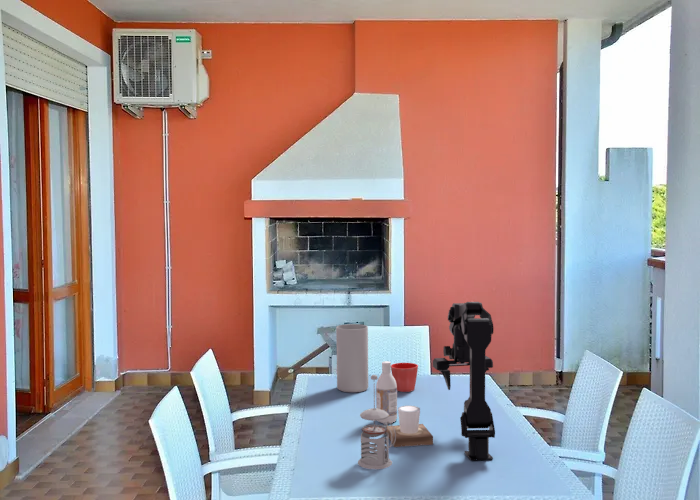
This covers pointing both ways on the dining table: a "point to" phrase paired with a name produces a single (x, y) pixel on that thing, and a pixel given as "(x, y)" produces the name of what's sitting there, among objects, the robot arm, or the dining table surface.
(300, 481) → the dining table surface
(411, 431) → the white cup
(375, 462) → the french press
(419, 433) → the walnut plinth
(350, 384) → the cylinder vase
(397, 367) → the flower pot
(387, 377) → the bath foam
